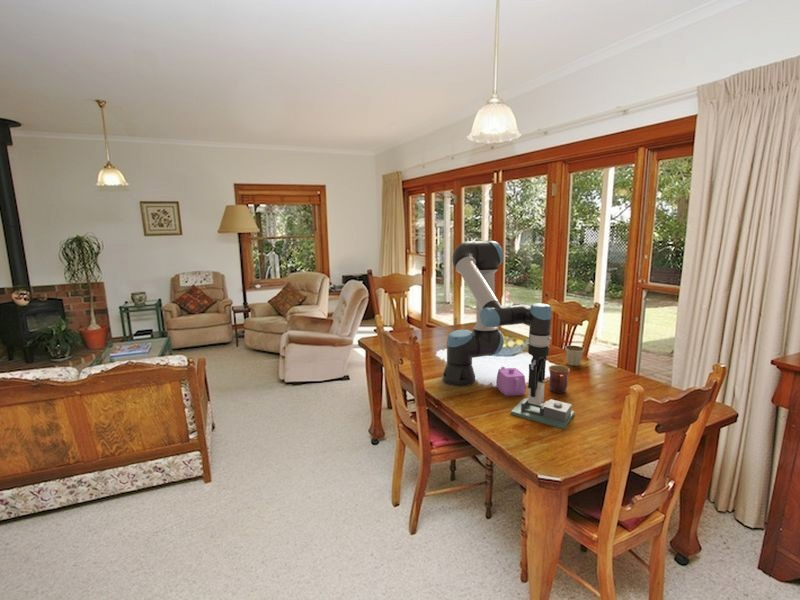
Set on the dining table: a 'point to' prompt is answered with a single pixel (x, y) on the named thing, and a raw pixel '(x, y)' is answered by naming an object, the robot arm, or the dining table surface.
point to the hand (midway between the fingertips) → (535, 401)
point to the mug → (558, 378)
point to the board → (545, 412)
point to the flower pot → (574, 354)
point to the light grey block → (540, 393)
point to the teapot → (511, 381)
